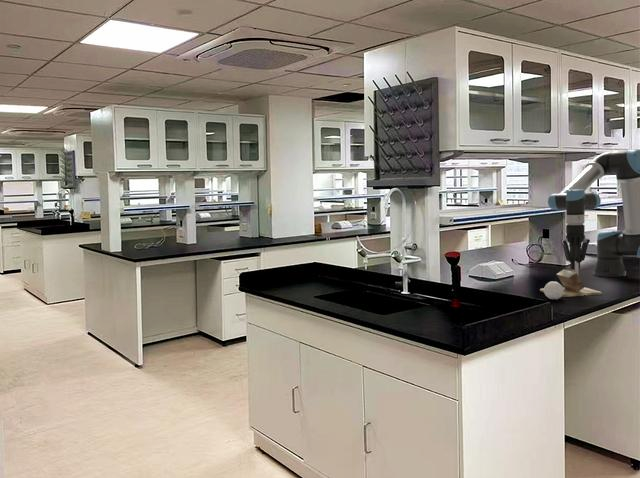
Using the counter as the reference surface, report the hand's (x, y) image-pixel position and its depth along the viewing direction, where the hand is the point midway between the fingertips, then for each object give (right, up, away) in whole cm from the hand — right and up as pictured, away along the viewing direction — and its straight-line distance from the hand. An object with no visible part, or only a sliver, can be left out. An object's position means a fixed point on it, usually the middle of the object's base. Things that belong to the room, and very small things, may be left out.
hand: (575, 276), depth 254 cm
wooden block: (0, -5, 0) cm, 5 cm away
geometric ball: (-15, -9, -12) cm, 21 cm away
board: (-2, -7, 0) cm, 8 cm away
